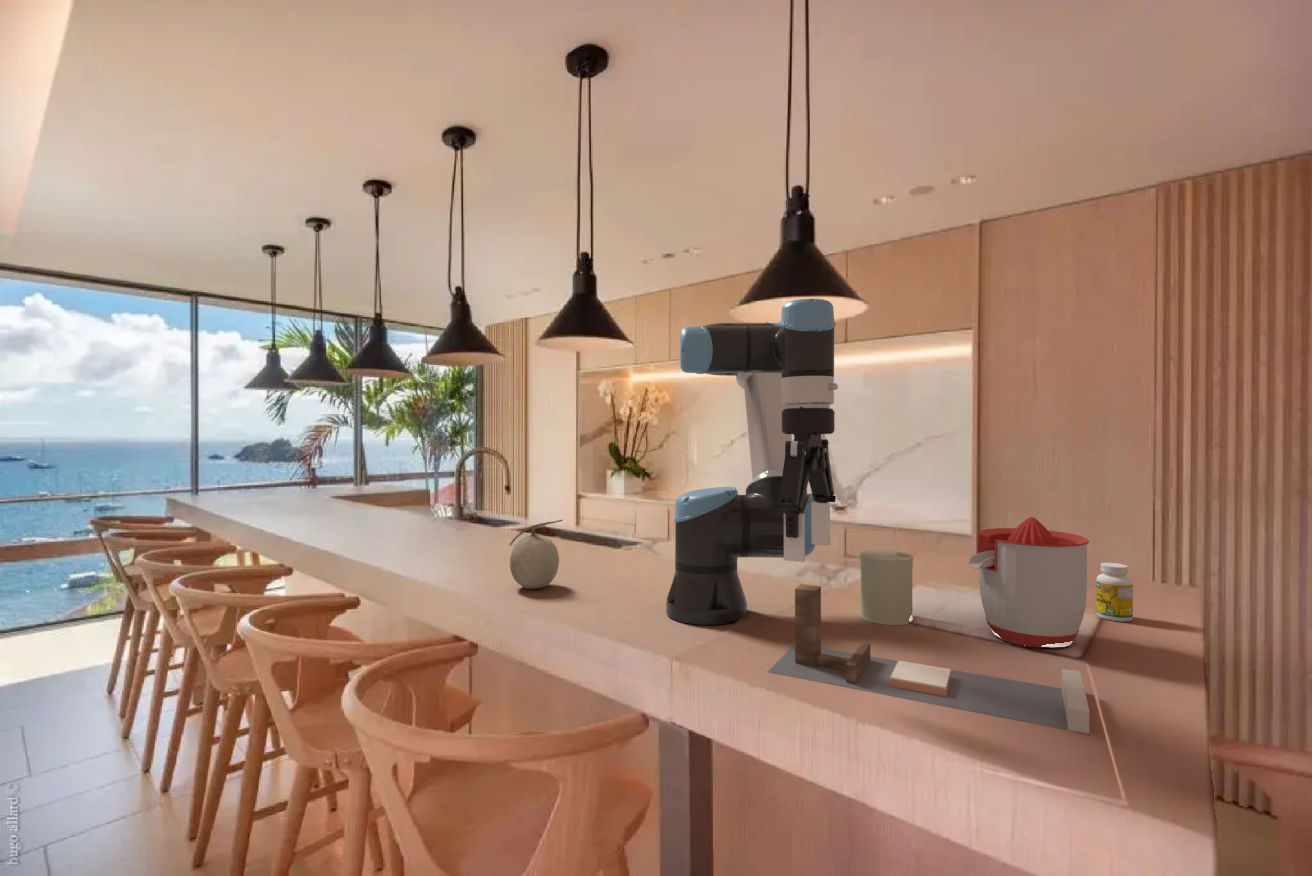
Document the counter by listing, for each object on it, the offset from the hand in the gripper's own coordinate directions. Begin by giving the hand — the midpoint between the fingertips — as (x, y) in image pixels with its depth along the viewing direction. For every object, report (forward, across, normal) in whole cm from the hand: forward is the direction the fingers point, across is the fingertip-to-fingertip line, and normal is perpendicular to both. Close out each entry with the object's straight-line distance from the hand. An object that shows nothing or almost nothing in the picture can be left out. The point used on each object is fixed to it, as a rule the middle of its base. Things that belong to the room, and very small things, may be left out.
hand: (808, 552), depth 94 cm
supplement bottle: (+17, +48, -42) cm, 66 cm away
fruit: (+16, +15, +65) cm, 69 cm away
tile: (+16, 0, -15) cm, 22 cm away
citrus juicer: (+17, +28, -28) cm, 43 cm away
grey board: (+17, 0, -15) cm, 22 cm away
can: (+17, +29, -6) cm, 34 cm away
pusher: (+16, 0, -3) cm, 17 cm away
